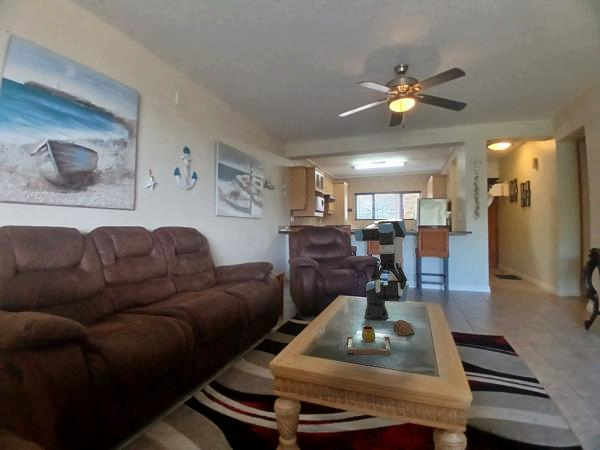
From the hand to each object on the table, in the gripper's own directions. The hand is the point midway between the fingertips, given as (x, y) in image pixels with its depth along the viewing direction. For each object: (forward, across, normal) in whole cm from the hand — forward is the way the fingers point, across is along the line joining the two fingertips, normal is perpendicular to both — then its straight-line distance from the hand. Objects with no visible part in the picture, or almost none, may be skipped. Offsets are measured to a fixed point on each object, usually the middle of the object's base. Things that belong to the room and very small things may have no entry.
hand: (389, 293), depth 157 cm
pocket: (+23, -1, -18) cm, 29 cm away
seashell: (+24, +1, +11) cm, 26 cm away
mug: (+24, -9, -8) cm, 26 cm away
